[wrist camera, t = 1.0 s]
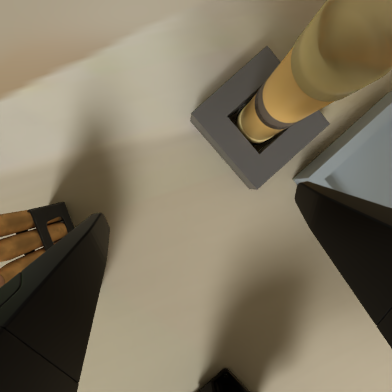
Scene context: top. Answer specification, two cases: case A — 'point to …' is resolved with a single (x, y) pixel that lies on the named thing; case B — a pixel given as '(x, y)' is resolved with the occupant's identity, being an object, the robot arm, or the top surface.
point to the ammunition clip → (30, 236)
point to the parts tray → (359, 158)
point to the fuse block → (235, 141)
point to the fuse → (322, 66)
